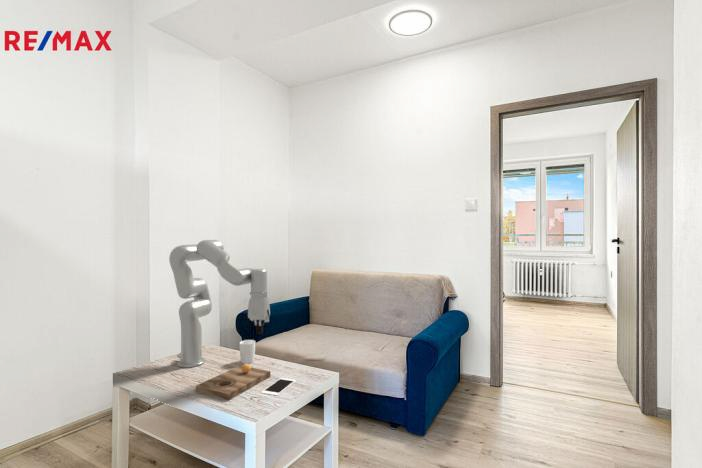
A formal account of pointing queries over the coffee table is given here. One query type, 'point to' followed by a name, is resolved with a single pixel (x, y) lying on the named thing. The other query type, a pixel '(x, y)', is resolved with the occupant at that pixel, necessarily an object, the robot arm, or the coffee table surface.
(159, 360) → the coffee table surface
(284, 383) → the cell phone
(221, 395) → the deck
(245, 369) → the ball
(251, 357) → the white cup
